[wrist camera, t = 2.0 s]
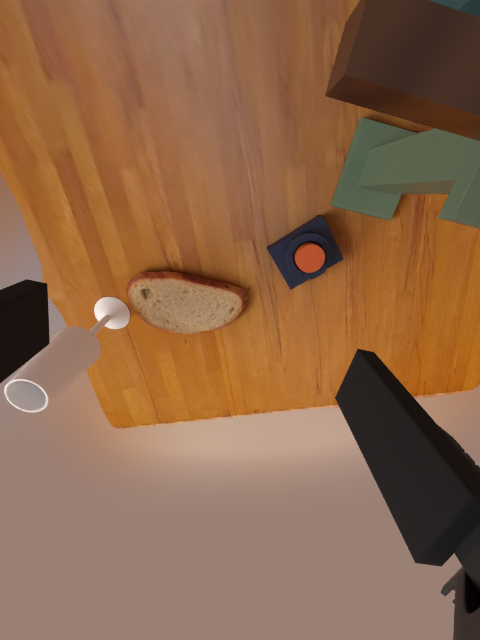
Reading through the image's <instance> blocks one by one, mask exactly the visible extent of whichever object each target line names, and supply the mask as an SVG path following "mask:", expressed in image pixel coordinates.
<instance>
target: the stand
mask: <svg viewBox="0 0 480 640" xmlns="http://www.w3.org/2000/svg"><path fill="white" fill-rule="evenodd" d="M402 194H449V195H448V197H447V199H446V201H445V203H444V205H443V208H442V210H441V212H440V214H439V216H438V218H440V219H443V220H447V221H451V222H455V223H459V224H463V225H467V226H470V227H474V228H478V229H480V141H477V140H474V139H470V138H467V137H463V136H460V135H457V134H453V133H450V132H446V131H443V130H440V129H436V128H434V129H431V130H427V131H424V132H421V133H415V132H412V131H408V130H405V129H401V128H398V127H394V126H391V125H388V124H384V123H381V122H377V121H374V120H370V119H367V118H361V119H360V120H359V121H358V124H357V127H356V130H355V133H354V136H353V139H352V142H351V145H350V148H349V151H348V154H347V157H346V160H345V163H344V166H343V169H342V172H341V175H340V178H339V181H338V184H337V187H336V190H335V193H334V196H333V199H332V202H331V206H334V207H338V208H342V209H346V210H350V211H354V212H358V213H362V214H366V215H370V216H374V217H378V218H382V219H385V220H391V219H392V217H393V214H394V212H395V210H396V207H397V205H398V203H399V200H400V198H401V195H402Z"/></svg>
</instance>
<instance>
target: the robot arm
mask: <svg viewBox="0 0 480 640" xmlns="http://www.w3.org/2000/svg"><path fill="white" fill-rule="evenodd" d="M49 344H50V342H49V317H48V292H47V284H46V283H41V282H37V281H32V280H24V281H21V282H19V283H16V284H14V285H12V286H9V287H7V288H4V289H2V290H0V383H1V382H2V381H3V380H5V379H6V378H7V377H9V376H10V375H11V374H12V373H14V372H15V371H16V370H17V369H18V368H20V367H21V366H22V365H24V364H25V363H26V362H27V361H29V360H30V359H31V358H32V357H34V356H35V355H36V354H37V353H39V352H40V351H41V350H42V349H44V348H45V347H46V346H48V345H49ZM335 398H336V401H337V403H338V405H339V407H340V409H341V411H342V413H343V415H344V417H345V419H346V421H347V423H348V425H349V427H350V429H351V431H352V433H353V435H354V438H355V440H356V442H357V444H358V446H359V448H360V450H361V452H362V454H363V456H364V458H365V460H366V462H367V464H368V466H369V468H370V470H371V472H372V474H373V477H374V479H375V481H376V483H377V485H378V487H379V489H380V491H381V493H382V495H383V497H384V499H385V501H386V503H387V505H388V507H389V509H390V511H391V514H392V515H393V518H394V520H395V522H396V524H397V526H398V528H399V530H400V532H401V534H402V536H403V538H404V540H405V542H406V544H407V546H408V549H409V551H410V552H411V555H412V557H413V559H414V561H415V563H420V564H428V565H436V566H442V565H443V564H444V563H445V562H446V561H447V560H448V559H449V558H450V557H451V556H452V554H453V553H455V555H456V556H457V558H458V559H459V561H460V562H461V564H462V566H463V567H462V568H461V569H460V570H459V571H458V572H457V573H456V574H455V575H454V576H453V577H452V578H451V579H450V580H449V581H448V582H447V583H446V584H445V585H444V586H443V588H442V591H441V593H442V594H443V595H444V596H446V595H447V594H448V593H449V592H450V591H451V590H455V599H454V600H453V603H454V604H455V611H454V636H453V637H454V638H453V640H480V467H479V466H478V465H475V462H474V461H473V459H472V458H471V457H470V456H469V455H468V454H467V453H465V452H464V449H463V448H462V447H461V446H460V445H459V444H458V443H457V442H456V440H455V439H454V438H453V437H452V436H450V435H449V434H448V433H447V432H446V431H444V430H443V429H442V428H441V427H439V426H438V425H437V424H436V423H435V422H434V420H433V419H432V418H431V417H430V416H429V415H428V414H427V412H426V411H425V410H424V409H423V408H422V407H421V406H420V405H419V403H418V402H417V401H416V400H415V399H414V398H413V396H412V395H411V394H410V393H409V392H408V391H407V390H406V388H405V387H404V386H403V385H402V384H401V383H400V382H399V380H398V379H397V378H396V377H395V376H394V375H393V374H392V372H391V371H390V370H389V369H388V368H387V367H386V366H385V364H384V363H383V362H382V361H381V360H380V359H379V358H378V356H377V355H376V354H375V353H374V352H370V351H366V350H361V349H358V350H357V352H356V354H355V356H354V358H353V360H352V363H351V365H350V367H349V369H348V371H347V373H346V376H345V378H344V380H343V382H342V384H341V386H340V389H339V391H338V393H337V395H336V397H335Z"/></svg>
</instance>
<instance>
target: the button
mask: <svg viewBox="0 0 480 640" xmlns="http://www.w3.org/2000/svg"><path fill="white" fill-rule="evenodd" d="M324 261H325V254H324V251H323V249H322V248H321V247H319V246H318V245H316V244H314V243H305V244H303V245H301V246H300V247H299V248H298V249H297V251H296V253H295V263H296V264H297V266H298V267H299V268H300V269H301V270H302V271H304V272H307V273H312V272H315V271H317V270H319V269H320V268H321V267H322V265H323V263H324Z"/></svg>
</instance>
